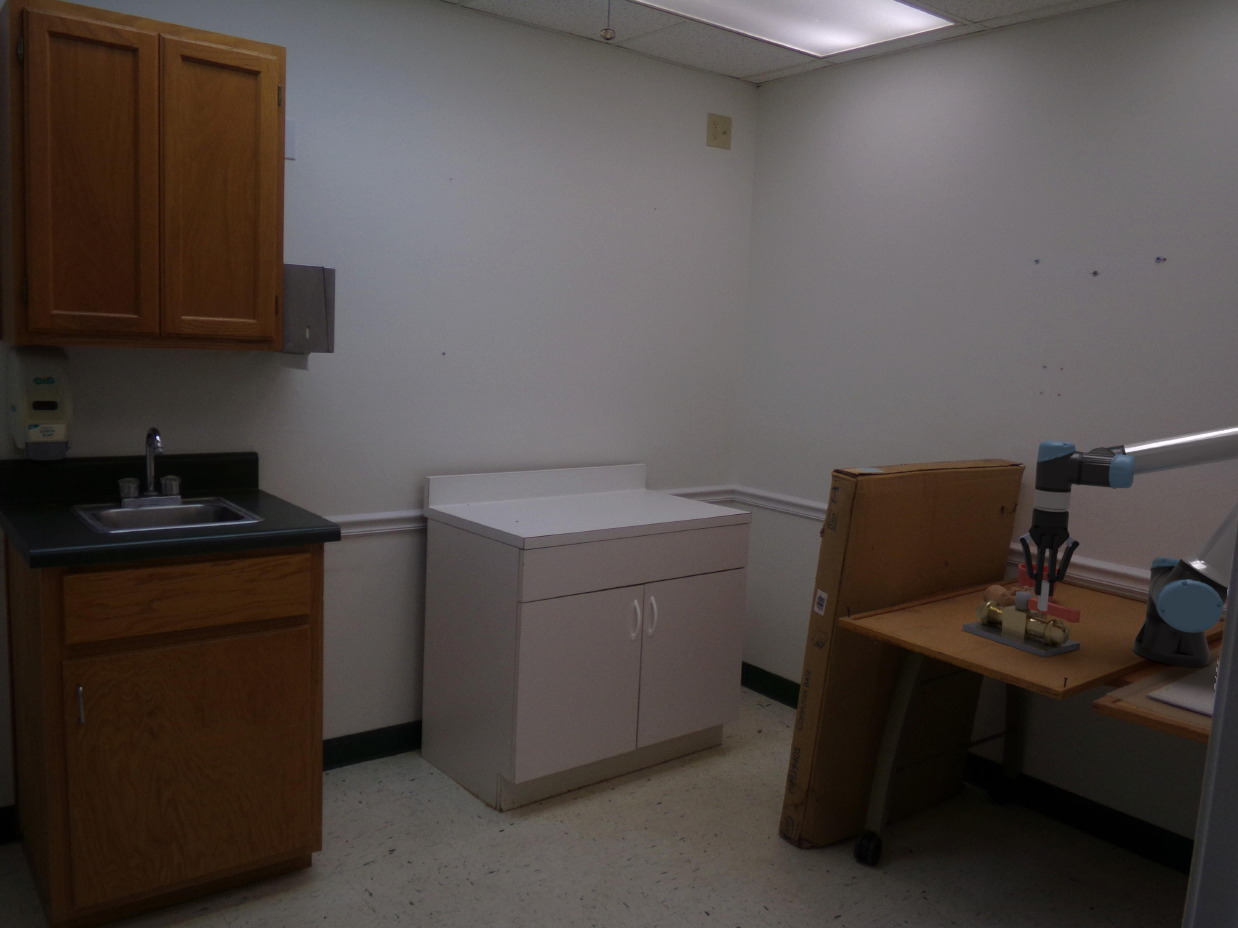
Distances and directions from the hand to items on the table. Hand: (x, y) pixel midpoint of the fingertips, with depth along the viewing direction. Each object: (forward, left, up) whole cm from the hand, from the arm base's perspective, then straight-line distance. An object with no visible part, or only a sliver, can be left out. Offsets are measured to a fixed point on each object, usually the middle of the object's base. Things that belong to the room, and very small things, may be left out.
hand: (1042, 609), depth 210 cm
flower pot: (+28, -41, -10) cm, 51 cm away
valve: (+8, -4, -10) cm, 13 cm away
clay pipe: (+19, -20, -10) cm, 29 cm away
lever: (+1, -4, -2) cm, 5 cm away
